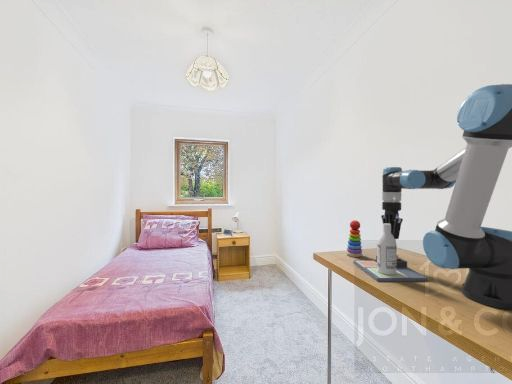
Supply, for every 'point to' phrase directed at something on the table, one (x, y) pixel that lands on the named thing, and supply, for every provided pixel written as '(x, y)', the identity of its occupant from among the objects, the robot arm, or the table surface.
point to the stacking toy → (354, 240)
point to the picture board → (401, 275)
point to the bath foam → (386, 251)
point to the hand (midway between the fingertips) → (390, 253)
